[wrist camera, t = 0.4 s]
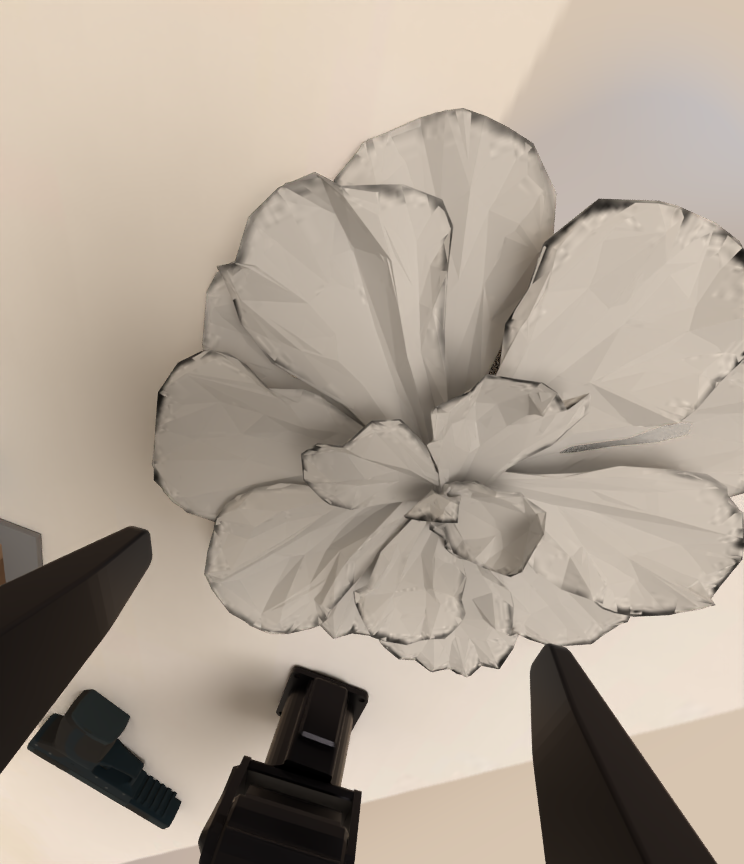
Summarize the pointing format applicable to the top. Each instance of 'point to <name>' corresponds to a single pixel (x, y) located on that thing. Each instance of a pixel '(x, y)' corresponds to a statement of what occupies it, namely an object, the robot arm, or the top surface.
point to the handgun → (103, 757)
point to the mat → (19, 550)
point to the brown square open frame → (2, 568)
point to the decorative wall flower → (463, 405)
